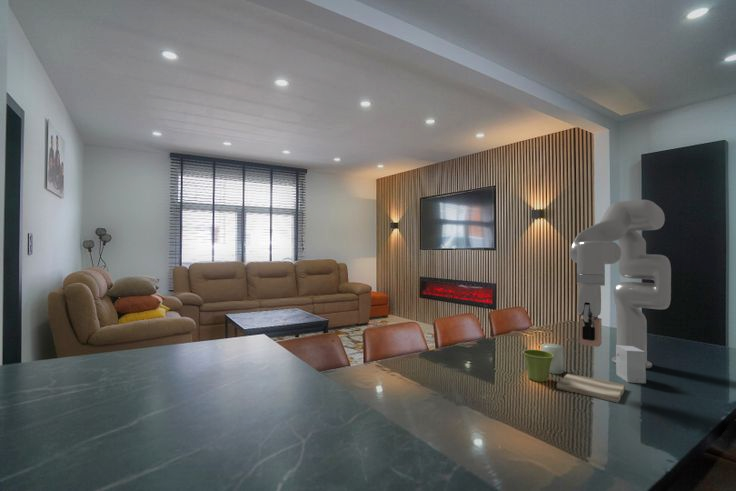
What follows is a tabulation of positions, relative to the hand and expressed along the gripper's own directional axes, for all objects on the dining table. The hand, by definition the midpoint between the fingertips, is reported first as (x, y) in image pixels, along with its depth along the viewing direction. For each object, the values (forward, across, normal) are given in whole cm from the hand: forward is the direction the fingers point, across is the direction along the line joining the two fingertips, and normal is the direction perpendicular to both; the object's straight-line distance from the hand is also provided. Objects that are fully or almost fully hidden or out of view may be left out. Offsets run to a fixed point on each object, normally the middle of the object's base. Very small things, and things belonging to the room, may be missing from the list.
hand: (590, 337), depth 114 cm
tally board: (+16, 0, 0) cm, 16 cm away
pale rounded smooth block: (+16, -11, -14) cm, 24 cm away
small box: (+16, -20, +8) cm, 27 cm away
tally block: (+2, 0, 0) cm, 2 cm away
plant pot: (+16, +2, -15) cm, 22 cm away
